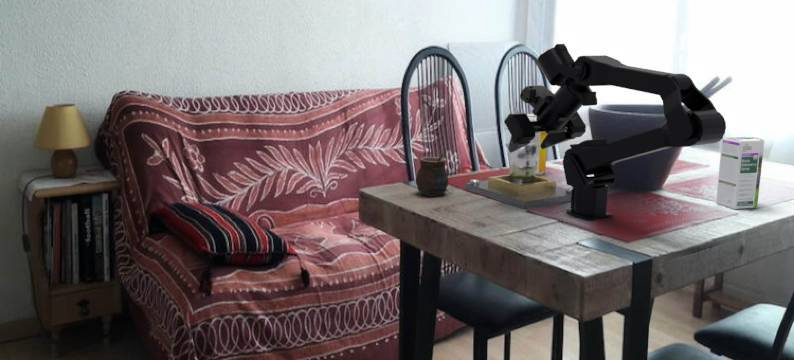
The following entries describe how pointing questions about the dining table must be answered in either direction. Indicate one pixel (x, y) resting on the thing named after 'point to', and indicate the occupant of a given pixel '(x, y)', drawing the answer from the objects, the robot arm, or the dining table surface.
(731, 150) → the syrup box
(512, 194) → the grey plate with frame
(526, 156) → the glass mug
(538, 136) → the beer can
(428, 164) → the mate gourd
